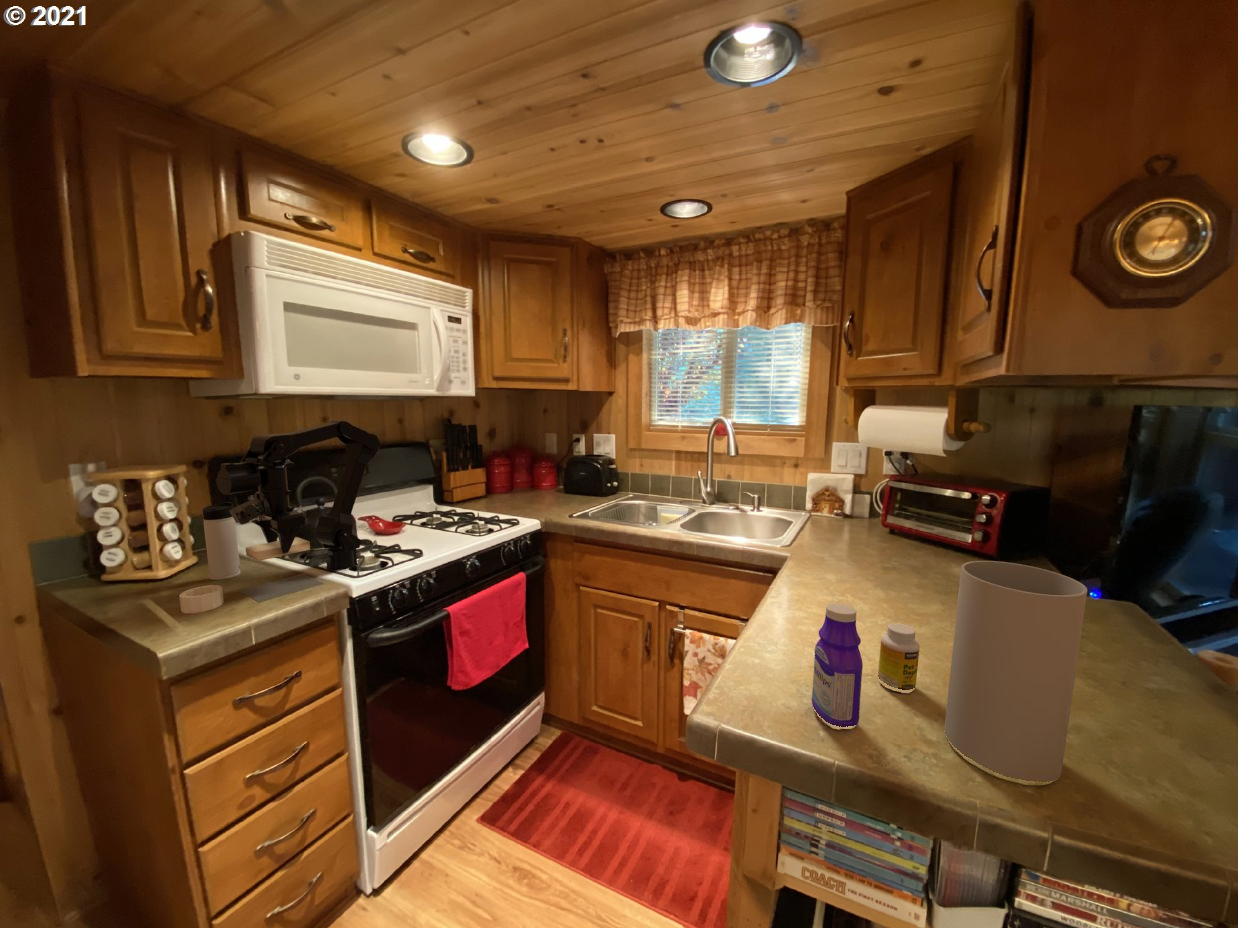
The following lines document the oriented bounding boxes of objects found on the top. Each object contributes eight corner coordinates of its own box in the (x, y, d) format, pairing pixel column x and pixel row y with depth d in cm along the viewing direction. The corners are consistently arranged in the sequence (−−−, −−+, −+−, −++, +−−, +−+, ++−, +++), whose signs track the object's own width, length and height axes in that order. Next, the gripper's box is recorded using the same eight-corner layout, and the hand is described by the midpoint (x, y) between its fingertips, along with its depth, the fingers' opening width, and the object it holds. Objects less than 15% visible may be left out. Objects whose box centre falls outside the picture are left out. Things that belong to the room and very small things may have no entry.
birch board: (297, 544, 125) (296, 536, 124) (310, 549, 121) (309, 541, 120) (246, 555, 115) (245, 547, 115) (258, 561, 112) (257, 552, 111)
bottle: (804, 703, 76) (810, 598, 74) (838, 702, 77) (846, 597, 74) (827, 735, 69) (835, 620, 67) (865, 733, 69) (875, 618, 67)
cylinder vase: (973, 782, 61) (994, 592, 57) (927, 718, 73) (943, 558, 70) (1087, 796, 59) (1116, 600, 55) (1020, 727, 71) (1041, 563, 67)
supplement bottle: (902, 699, 77) (908, 639, 76) (870, 681, 82) (874, 624, 81) (922, 689, 80) (928, 631, 79) (890, 672, 85) (894, 617, 84)
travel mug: (248, 574, 130) (240, 502, 127) (226, 584, 124) (217, 507, 121) (226, 573, 131) (218, 501, 128) (203, 583, 124) (194, 506, 121)
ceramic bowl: (217, 601, 113) (215, 582, 113) (228, 608, 109) (226, 589, 109) (177, 612, 107) (175, 592, 107) (188, 620, 103) (185, 600, 103)
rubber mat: (302, 577, 129) (302, 573, 128) (324, 587, 122) (324, 583, 122) (239, 594, 117) (239, 590, 117) (259, 606, 110) (259, 602, 110)
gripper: (217, 488, 115) (224, 551, 117) (248, 497, 104) (255, 567, 106) (271, 481, 124) (276, 540, 126) (305, 489, 113) (310, 554, 115)
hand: (278, 550), depth 118 cm, fingers closed on birch board, 7 cm apart
